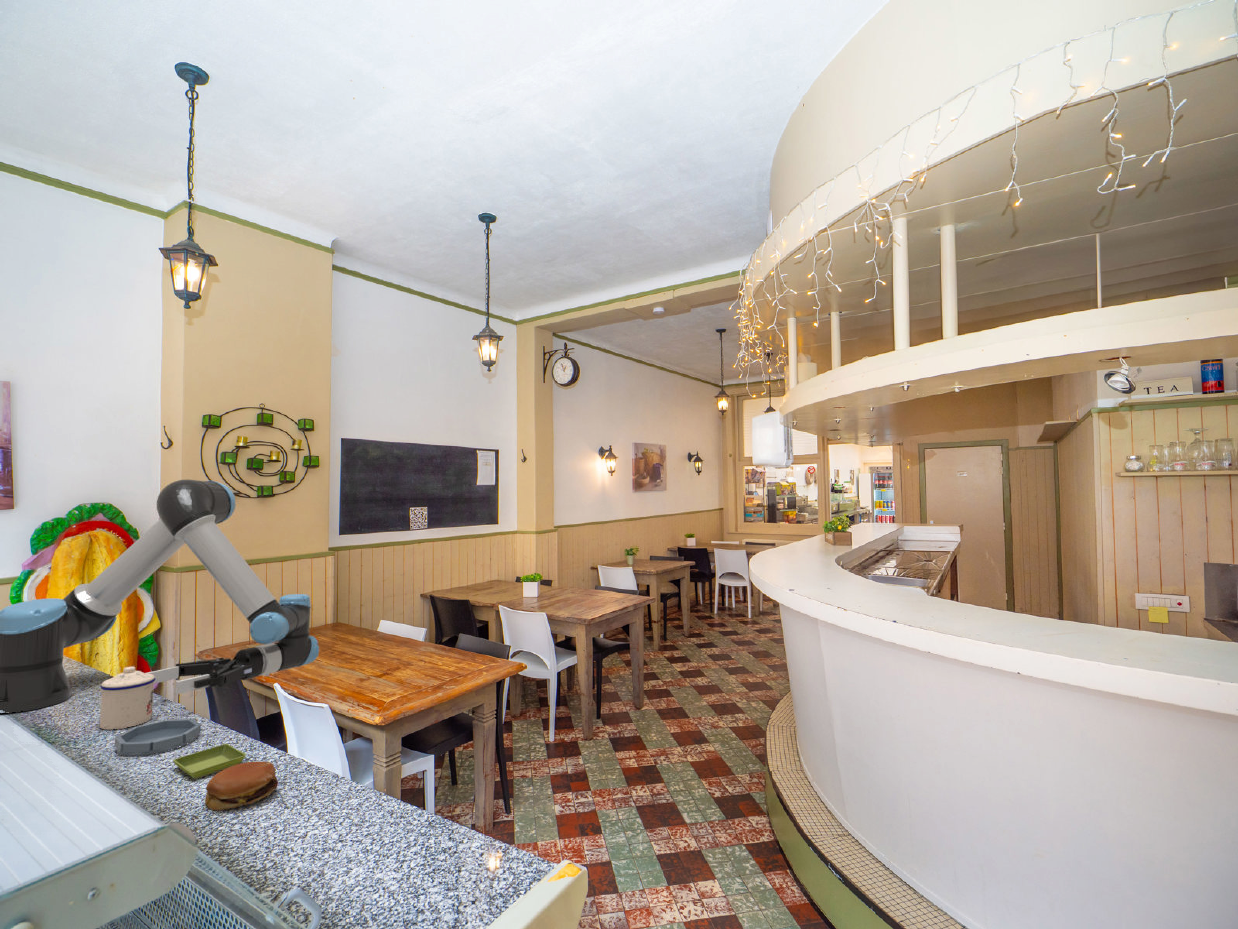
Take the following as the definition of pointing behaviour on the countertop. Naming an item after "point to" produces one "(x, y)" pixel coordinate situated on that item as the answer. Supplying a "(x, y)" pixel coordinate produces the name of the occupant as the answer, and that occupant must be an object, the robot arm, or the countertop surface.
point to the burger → (241, 785)
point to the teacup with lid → (126, 699)
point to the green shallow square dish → (210, 760)
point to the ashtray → (157, 737)
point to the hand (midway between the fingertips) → (160, 683)
